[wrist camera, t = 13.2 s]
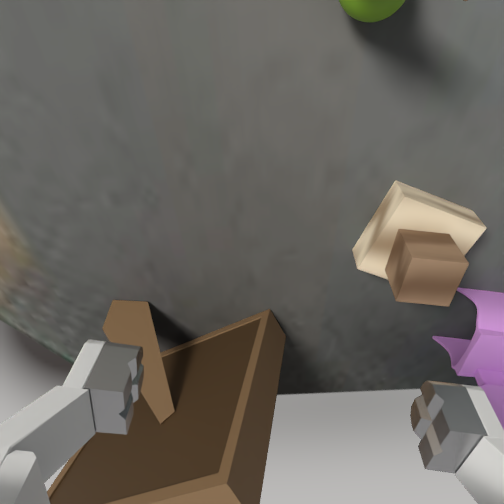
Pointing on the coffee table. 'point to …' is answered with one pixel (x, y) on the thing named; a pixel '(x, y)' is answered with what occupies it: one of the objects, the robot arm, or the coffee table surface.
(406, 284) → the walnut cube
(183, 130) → the coffee table surface
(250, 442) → the photo frame
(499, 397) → the toy chair
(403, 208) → the beech block
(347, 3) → the snail figurine
